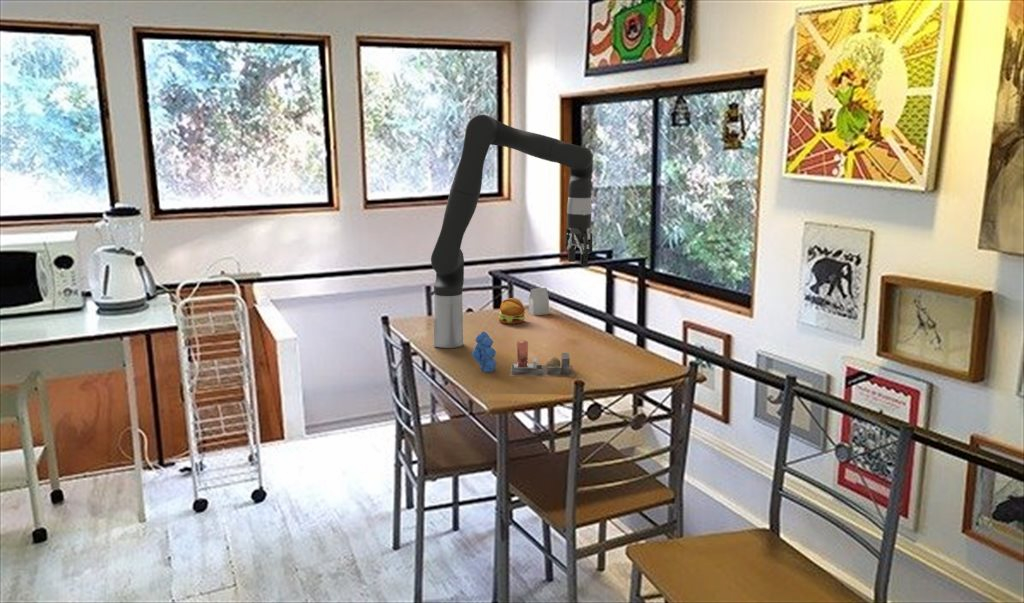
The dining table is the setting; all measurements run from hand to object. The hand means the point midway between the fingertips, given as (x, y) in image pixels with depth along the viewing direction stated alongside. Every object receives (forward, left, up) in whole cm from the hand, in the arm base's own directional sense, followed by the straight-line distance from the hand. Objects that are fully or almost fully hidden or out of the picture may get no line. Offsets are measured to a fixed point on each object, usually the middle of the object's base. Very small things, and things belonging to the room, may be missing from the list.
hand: (577, 263), depth 239 cm
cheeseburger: (-21, +38, -28) cm, 52 cm away
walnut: (-8, -28, -26) cm, 40 cm away
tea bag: (-11, +52, -28) cm, 60 cm away
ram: (-16, -28, -26) cm, 42 cm away
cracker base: (-11, -28, -28) cm, 41 cm away
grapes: (-29, -27, -28) cm, 48 cm away
